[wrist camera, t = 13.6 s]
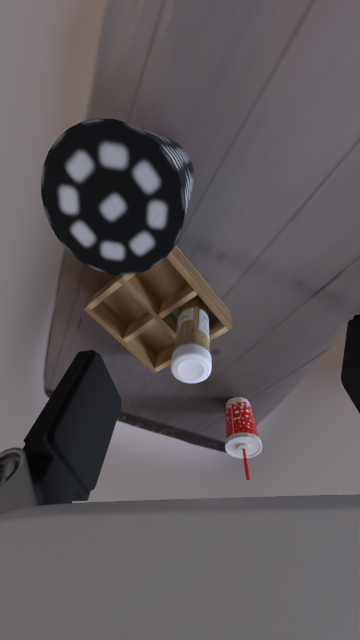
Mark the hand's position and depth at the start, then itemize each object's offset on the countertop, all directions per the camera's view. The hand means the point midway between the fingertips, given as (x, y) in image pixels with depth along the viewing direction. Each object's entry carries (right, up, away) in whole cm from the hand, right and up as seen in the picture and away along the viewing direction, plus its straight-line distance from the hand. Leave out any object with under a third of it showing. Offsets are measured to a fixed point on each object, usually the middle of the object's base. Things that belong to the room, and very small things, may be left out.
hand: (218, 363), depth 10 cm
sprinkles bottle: (+1, +3, +31) cm, 31 cm away
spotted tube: (-4, +19, +22) cm, 29 cm away
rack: (-4, +4, +31) cm, 32 cm away
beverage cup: (+10, -15, +42) cm, 46 cm away
